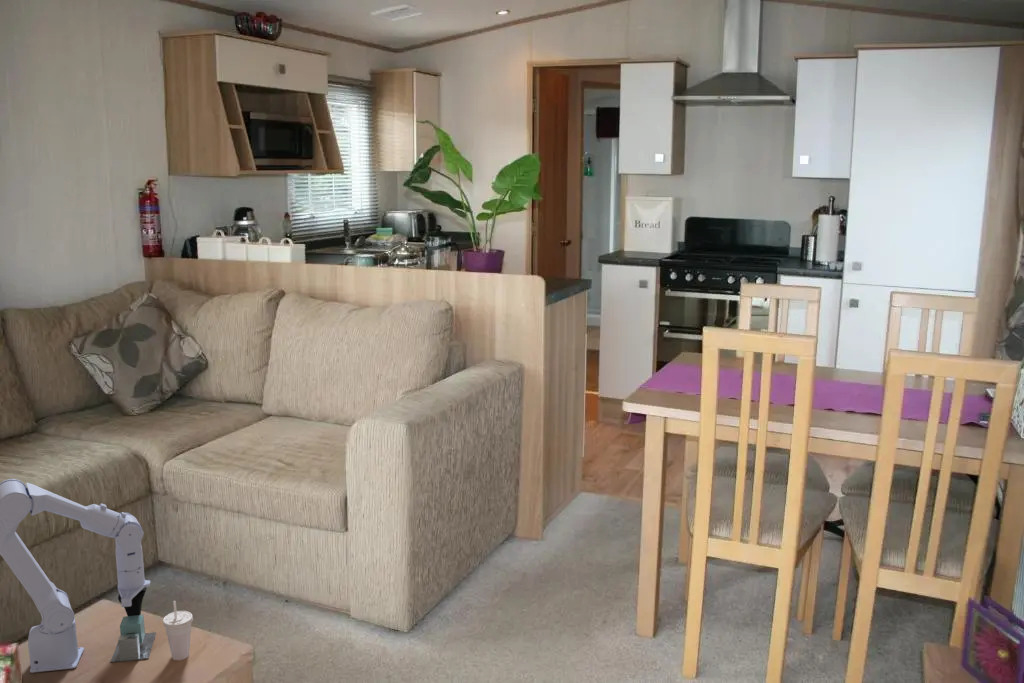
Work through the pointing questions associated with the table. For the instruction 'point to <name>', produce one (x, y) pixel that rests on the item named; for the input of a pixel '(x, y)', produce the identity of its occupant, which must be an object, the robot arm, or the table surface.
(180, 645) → the smoothie
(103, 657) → the table surface
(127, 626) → the teal block on rod
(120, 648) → the grey metal stand
